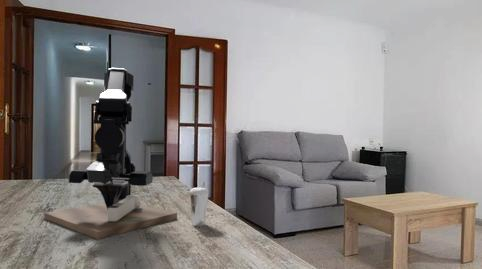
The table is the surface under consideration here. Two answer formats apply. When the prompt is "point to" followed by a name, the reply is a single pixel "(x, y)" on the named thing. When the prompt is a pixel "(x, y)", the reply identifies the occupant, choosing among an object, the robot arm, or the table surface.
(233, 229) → the table surface
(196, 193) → the milkshake
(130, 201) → the peg lever
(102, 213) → the plate
